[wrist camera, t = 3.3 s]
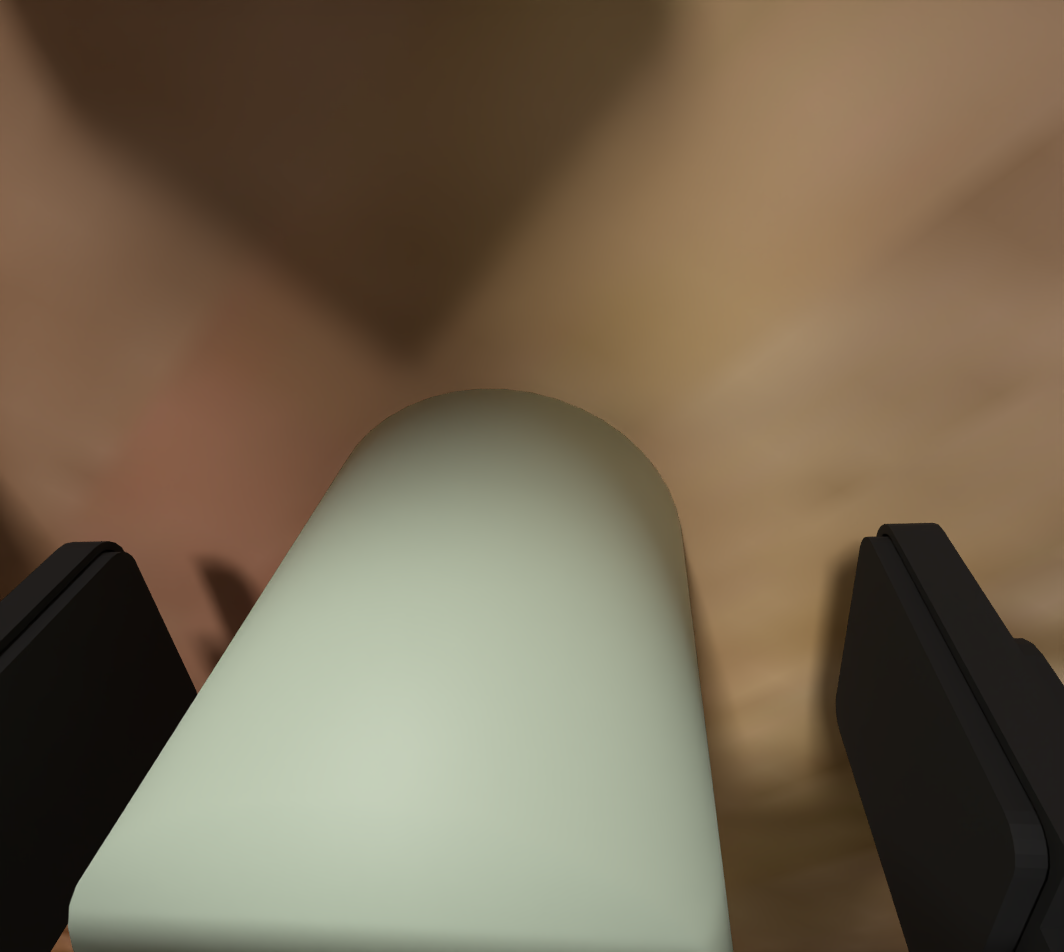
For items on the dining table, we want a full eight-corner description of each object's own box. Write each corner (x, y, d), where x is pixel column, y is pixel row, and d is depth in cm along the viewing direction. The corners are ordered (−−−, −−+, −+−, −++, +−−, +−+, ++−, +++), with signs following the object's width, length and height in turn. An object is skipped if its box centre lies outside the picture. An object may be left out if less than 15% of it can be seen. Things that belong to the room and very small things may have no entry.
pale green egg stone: (747, 597, 11) (862, 1102, 6) (473, 714, 13) (376, 1169, 8) (546, 313, 9) (446, 695, 4) (259, 502, 11) (-63, 922, 6)
